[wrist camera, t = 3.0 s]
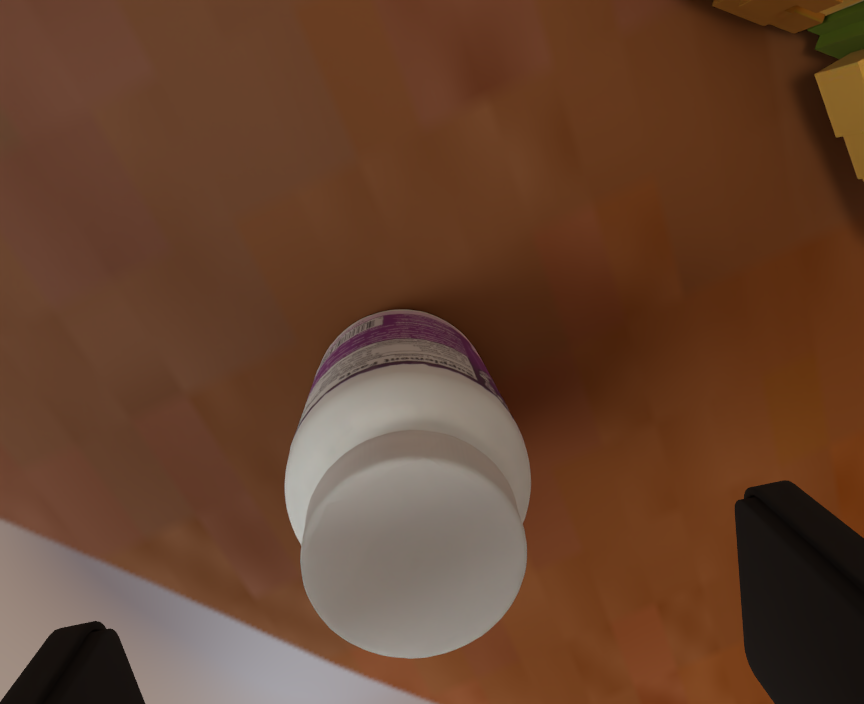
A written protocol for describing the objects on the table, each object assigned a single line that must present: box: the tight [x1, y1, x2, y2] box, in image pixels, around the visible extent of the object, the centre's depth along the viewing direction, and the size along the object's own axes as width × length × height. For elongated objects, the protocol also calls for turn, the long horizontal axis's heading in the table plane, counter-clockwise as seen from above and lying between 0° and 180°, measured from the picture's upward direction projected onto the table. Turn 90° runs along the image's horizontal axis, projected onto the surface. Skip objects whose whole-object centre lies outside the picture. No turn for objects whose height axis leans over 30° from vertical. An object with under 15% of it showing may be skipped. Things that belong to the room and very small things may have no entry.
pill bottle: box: [285, 309, 531, 659], centre depth 16 cm, size 5×5×10 cm
